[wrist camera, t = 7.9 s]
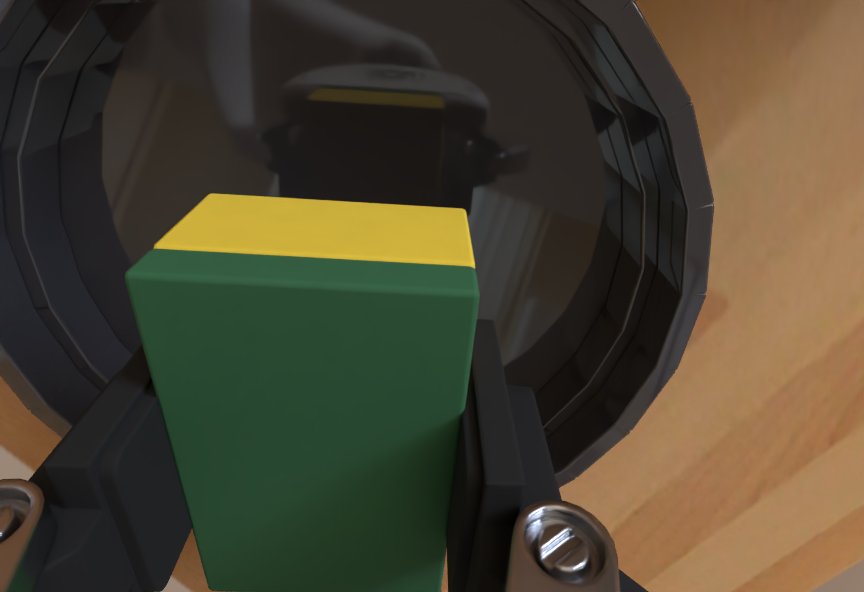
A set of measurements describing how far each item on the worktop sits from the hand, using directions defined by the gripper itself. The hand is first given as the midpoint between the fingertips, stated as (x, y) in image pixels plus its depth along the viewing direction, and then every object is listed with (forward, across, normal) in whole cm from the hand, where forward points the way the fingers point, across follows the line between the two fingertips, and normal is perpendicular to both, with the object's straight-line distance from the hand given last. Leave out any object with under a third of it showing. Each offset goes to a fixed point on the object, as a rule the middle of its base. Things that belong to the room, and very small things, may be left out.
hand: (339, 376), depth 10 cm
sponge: (+1, 0, 0) cm, 1 cm away
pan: (+6, 0, 0) cm, 6 cm away
